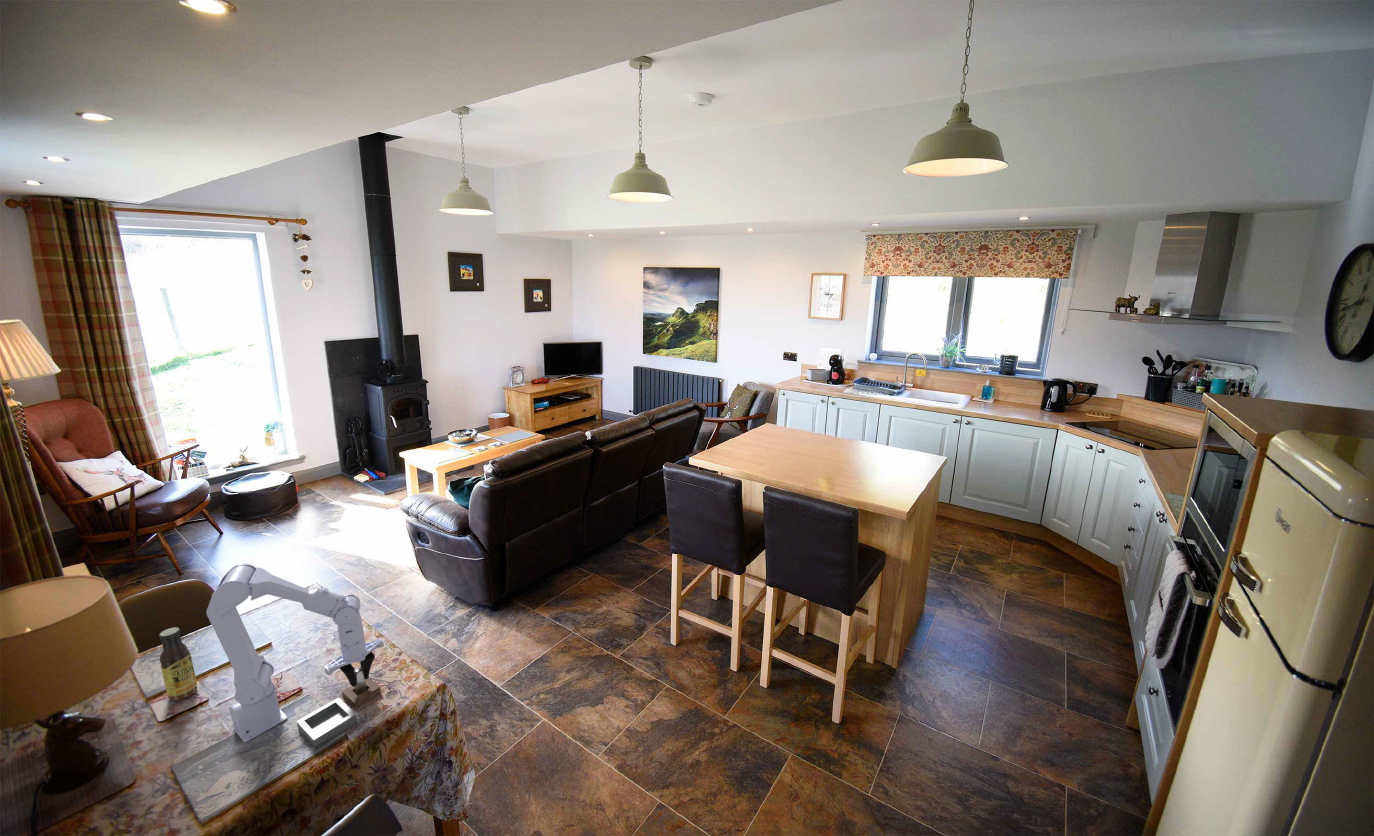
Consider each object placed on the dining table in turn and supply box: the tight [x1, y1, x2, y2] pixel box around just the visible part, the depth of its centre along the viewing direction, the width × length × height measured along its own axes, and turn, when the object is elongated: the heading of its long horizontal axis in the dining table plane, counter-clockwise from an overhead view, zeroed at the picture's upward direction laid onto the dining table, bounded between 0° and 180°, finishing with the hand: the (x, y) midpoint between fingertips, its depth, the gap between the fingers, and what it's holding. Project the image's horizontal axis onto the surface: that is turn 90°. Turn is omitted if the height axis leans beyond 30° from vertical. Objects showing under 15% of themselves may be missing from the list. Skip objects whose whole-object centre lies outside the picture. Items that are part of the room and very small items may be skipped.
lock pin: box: [354, 666, 367, 695], centre depth 151 cm, size 3×3×7 cm
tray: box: [296, 697, 359, 751], centre depth 142 cm, size 10×10×3 cm
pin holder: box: [341, 677, 382, 709], centre depth 152 cm, size 7×7×2 cm
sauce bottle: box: [159, 627, 198, 702], centre depth 150 cm, size 7×6×20 cm
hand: (359, 681), depth 151 cm, fingers closed on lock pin, 3 cm apart
